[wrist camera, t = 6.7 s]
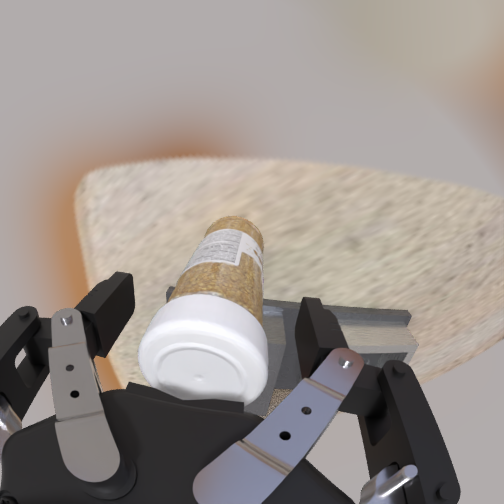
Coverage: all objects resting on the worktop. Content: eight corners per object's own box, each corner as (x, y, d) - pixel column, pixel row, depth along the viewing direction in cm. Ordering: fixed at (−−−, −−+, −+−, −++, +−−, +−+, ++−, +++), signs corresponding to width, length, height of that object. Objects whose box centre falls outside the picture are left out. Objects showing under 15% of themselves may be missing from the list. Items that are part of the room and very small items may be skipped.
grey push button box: (407, 310, 23) (433, 345, 17) (372, 382, 26) (386, 418, 21) (169, 286, 22) (147, 325, 17) (174, 368, 26) (160, 408, 21)
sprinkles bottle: (264, 269, 21) (270, 417, 9) (207, 272, 22) (155, 412, 9) (261, 211, 20) (266, 324, 7) (200, 215, 20) (115, 323, 7)
